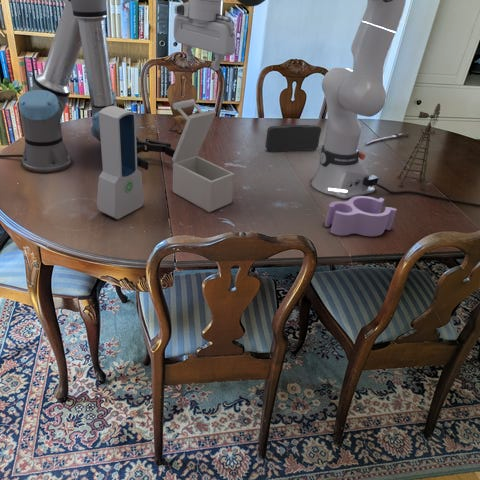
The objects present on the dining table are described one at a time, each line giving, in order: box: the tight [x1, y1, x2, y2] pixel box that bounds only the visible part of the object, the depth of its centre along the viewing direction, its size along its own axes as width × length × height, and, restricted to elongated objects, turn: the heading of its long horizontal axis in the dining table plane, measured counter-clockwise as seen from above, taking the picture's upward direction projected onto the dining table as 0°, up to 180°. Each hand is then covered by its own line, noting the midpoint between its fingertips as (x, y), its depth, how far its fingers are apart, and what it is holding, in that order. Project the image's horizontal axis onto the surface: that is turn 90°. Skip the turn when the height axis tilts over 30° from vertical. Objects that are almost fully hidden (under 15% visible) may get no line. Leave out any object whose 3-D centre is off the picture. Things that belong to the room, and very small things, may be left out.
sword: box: [366, 133, 410, 146], centre depth 213 cm, size 31×3×1 cm, turn 126°
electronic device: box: [96, 106, 145, 220], centre depth 130 cm, size 12×8×30 cm, turn 148°
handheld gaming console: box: [264, 124, 322, 152], centre depth 189 cm, size 23×3×10 cm, turn 108°
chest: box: [172, 155, 236, 213], centre depth 147 cm, size 17×10×10 cm, turn 48°
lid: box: [171, 98, 217, 163], centre depth 143 cm, size 18×10×9 cm
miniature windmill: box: [398, 102, 441, 191], centre depth 166 cm, size 9×8×30 cm
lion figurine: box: [168, 109, 200, 134], centre depth 195 cm, size 15×5×9 cm, turn 110°
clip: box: [324, 195, 398, 237], centre depth 141 cm, size 20×12×7 cm, turn 109°
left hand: (163, 160), depth 156 cm, fingers open, 13 cm apart
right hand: (202, 66), depth 130 cm, fingers open, 8 cm apart
